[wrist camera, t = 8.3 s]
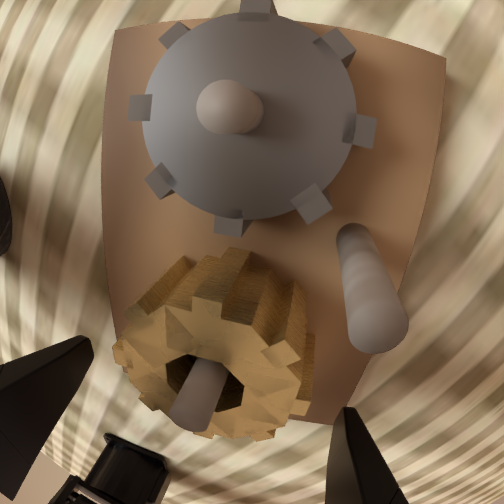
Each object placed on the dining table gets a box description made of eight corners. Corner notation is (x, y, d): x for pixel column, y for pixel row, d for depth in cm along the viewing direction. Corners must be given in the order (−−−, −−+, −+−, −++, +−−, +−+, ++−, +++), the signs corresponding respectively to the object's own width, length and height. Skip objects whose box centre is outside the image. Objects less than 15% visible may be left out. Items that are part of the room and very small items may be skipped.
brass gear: (160, 360, 14) (127, 409, 11) (154, 231, 11) (99, 270, 8) (295, 394, 13) (285, 455, 10) (334, 267, 10) (340, 327, 7)
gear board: (135, 356, 16) (78, 433, 11) (135, 37, 10) (19, 4, 4) (335, 404, 15) (329, 507, 9) (431, 66, 8) (531, 19, 2)
